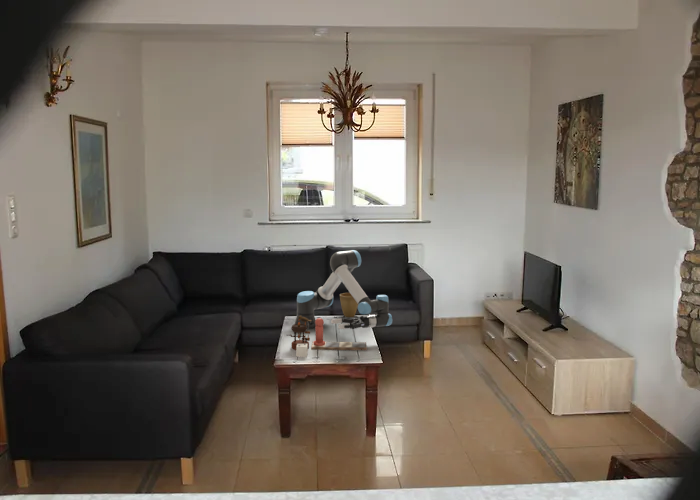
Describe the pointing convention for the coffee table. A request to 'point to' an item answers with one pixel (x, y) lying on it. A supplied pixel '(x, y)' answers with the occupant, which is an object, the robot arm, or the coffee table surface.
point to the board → (341, 346)
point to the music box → (299, 329)
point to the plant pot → (348, 304)
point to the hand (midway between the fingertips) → (335, 324)
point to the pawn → (319, 332)
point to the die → (301, 350)
